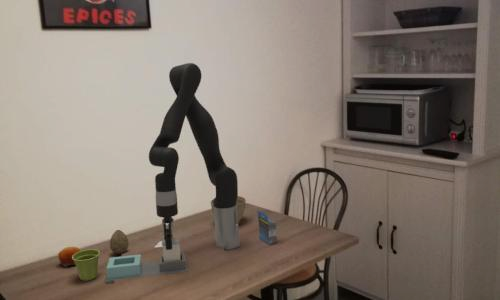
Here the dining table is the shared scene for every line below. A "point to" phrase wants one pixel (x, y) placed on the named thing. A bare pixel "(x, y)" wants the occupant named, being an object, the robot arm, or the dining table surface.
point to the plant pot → (87, 263)
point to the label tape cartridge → (266, 229)
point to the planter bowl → (240, 207)
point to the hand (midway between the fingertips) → (169, 244)
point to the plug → (171, 251)
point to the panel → (141, 267)
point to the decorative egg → (119, 242)
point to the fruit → (68, 255)
